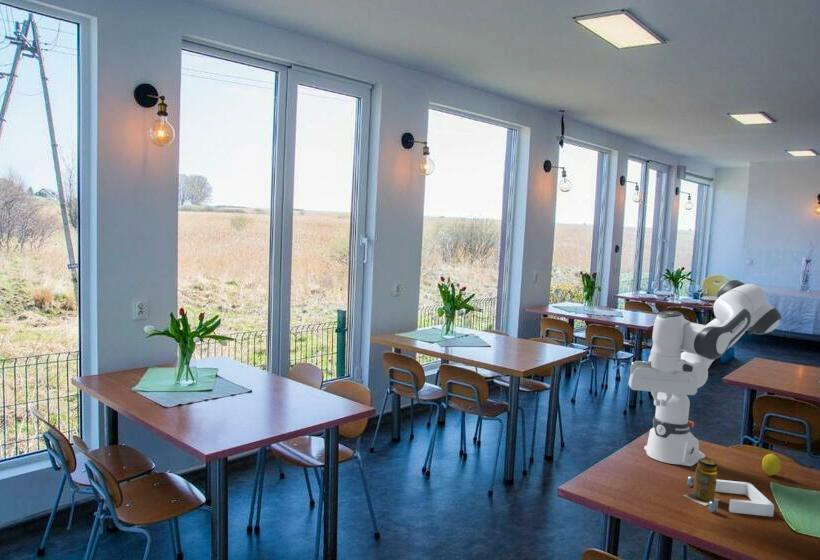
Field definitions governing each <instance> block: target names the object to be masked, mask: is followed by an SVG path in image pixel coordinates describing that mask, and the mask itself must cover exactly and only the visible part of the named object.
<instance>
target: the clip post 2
mask: <svg viewBox="0 0 820 560" xmlns="http://www.w3.org/2000/svg"><path fill="white" fill-rule="evenodd" d="M718 509H719V501H717V502H716V501H713V500H710V501H709V504H708V509H707V510H708V512H709V513H710V514H715V515H716V514H718Z"/></svg>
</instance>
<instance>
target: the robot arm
mask: <svg viewBox="0 0 820 560" xmlns="http://www.w3.org/2000/svg"><path fill="white" fill-rule="evenodd" d="M713 314H714V317H715V318H714V319H711V320H710V322H708V323H706V324H701V323H696V322H691V321H690V320H688V319H686V318H685V317H684V315H683V313H682V312H679V311H676V310H675V311H673V310H666V311H660V312H659V313H658V314H657V315H656V316H655V320H654V323H653V327H652V328H653V329H652V336H651V338H652V339H651V340H652V347H651V349H650V353H649V354H650V355H649V356H648V361H647V360H644V361H643V360H635V361H633V362H631V363H630V366H629V372H630V374H629V378H628V384H627V385H628V387H629V388H630V389H631V390H632V391H643V392H650V394H651V395H652V398H653V405H654V406H655V415H654V416H653V419H652V428H650V430H649V434H648V438H647V439H648V440H647V444H646V445H644V448H643V449H644V450H645V452H646V455H647V456H648V457H649V458H651V459H653V460H656V461H658V462H661V463H666V464H672V465H681V466H687V467H693V466H695V465H696V464H698V460H699V459H702V458H704V459H706V454H705V453H703V452H702V451H700V450H699V449H700V442H699V440H698V438H696V437H695V435H693V433H692V432H691V429H690V428H694V426H695V422H694V421H691V420H689V413H690V403H691V402H690V398H689V396H695V395H696V394H697V392H698V389H699V388H701V387H703V386H704V385H705V384H706V382H707V381H708V377H709V371H708V369H709V368H710V366H711V365H712V363H713V362H714V361H715V360H717V359H719V358H721V357H722V356H723V355H724V354H725V353H726V352H727V350H729V348H731V347H733V345H735V344H736V343H737V341H739V339H740V338H741V337H742V336H743V335H744V334H745V333H746V331H748V332H747V334H748V335H753V334H754V335H765V334H767V333H770V332H772V331H774V330H775V329H776V328H777V327H778V326H779V324H780V322H781V320H782V314H781V313H780V311H779V310H778V309H777V308H776V307H774V306H773V305H772V304H771V303H770V302H769V301H768V300H767V295H766V292H765V290H764V289H763V288H762V287H760V286H759V285H758V284H757V285H756V284H754V283H744V282H742V281H740V280H738V279H731V280H729V281H727V282H725V283H724V284H722V286H721V287H720V288H719V290H718V291H717V293H716V300H715V301H714V303H713Z"/></svg>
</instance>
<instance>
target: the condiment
mask: <svg viewBox="0 0 820 560" xmlns="http://www.w3.org/2000/svg"><path fill="white" fill-rule="evenodd" d="M717 463H718V462H716V461H714V460H712V459H709V458H702V459H699V460H698V462H697V466H696V467H695V473H694V477H695V480H694V488H692V489H693V490H692V492H690V493H687V494H684V495H682V496H683V497H685V498H687V499H689V500H690V501H692V502H695V503H698V504H699V505H703V506H709V501H710V500H713V501H716V502H720V499H719V498H716V497H715V496H716V495H715V494H716V492H715V489H716V480H717V478H718V471H717V466H718V465H717Z"/></svg>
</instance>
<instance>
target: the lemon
mask: <svg viewBox="0 0 820 560" xmlns="http://www.w3.org/2000/svg"><path fill="white" fill-rule="evenodd" d="M761 467H762V469H763V471H764V473H766V474H767V475H768V476H769V477H770V476H773V475H776V474H778V473H779V472H780V470H781V460H780V459H779V457H778V456H777V455H776V454H774V453H773V452H772V453H768V454H766V455H764V457H763V458H762V461H761Z"/></svg>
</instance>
